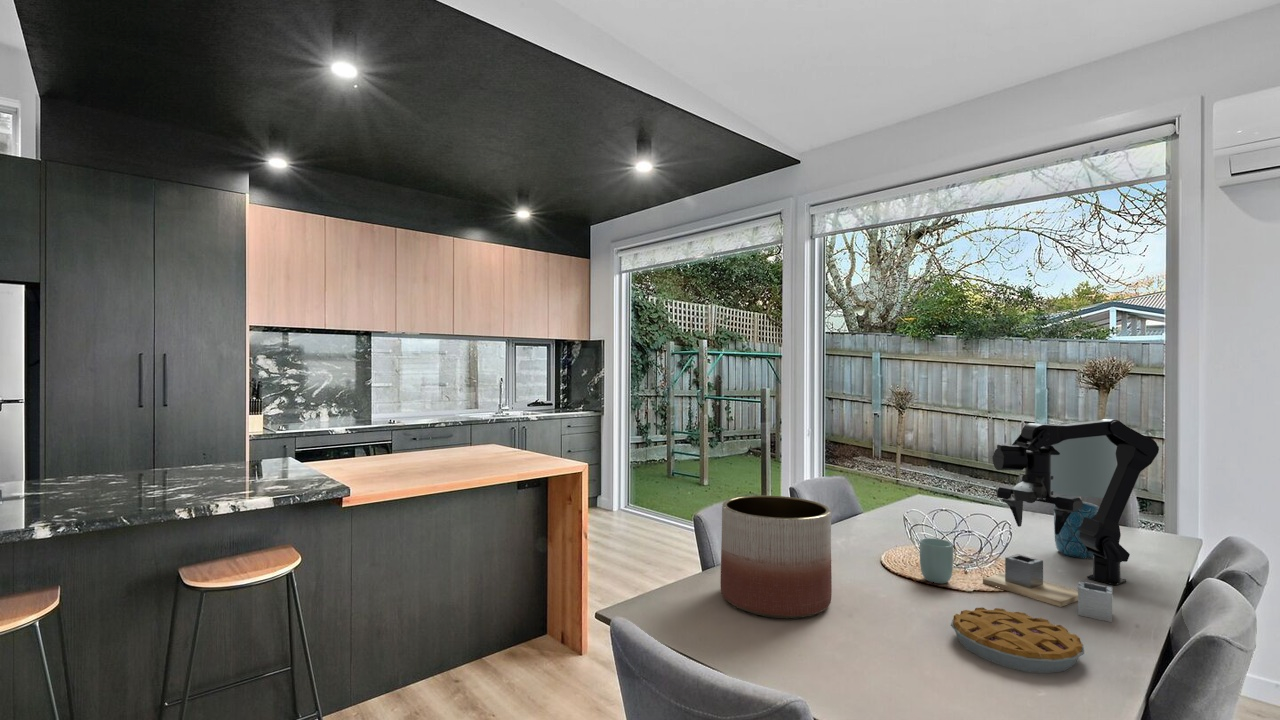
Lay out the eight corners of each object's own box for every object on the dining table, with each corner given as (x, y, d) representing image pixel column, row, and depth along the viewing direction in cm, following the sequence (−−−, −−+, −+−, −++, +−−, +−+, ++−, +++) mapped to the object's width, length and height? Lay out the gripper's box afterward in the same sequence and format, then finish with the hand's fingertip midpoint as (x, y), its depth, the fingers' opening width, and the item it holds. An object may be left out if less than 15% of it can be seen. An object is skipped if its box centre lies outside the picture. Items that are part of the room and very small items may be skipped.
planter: (837, 591, 148) (838, 501, 148) (822, 631, 125) (823, 524, 125) (737, 575, 159) (737, 491, 159) (706, 609, 136) (706, 511, 136)
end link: (1017, 577, 156) (1017, 554, 156) (1043, 584, 151) (1043, 560, 151) (1005, 581, 153) (1005, 557, 153) (1030, 588, 148) (1030, 564, 148)
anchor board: (1008, 575, 161) (1008, 552, 161) (1085, 597, 146) (1085, 571, 146) (982, 583, 155) (982, 558, 155) (1061, 607, 140) (1061, 580, 140)
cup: (957, 587, 152) (957, 547, 152) (924, 584, 153) (924, 545, 153) (948, 577, 159) (948, 539, 159) (916, 574, 161) (916, 537, 161)
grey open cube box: (1079, 607, 140) (1079, 580, 140) (1112, 613, 136) (1112, 587, 136) (1078, 615, 135) (1077, 588, 135) (1112, 622, 131) (1111, 594, 131)
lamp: (1096, 548, 188) (1096, 426, 189) (1131, 567, 169) (1131, 432, 170) (1027, 543, 192) (1027, 424, 193) (1054, 561, 174) (1054, 430, 174)
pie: (1033, 688, 103) (1033, 659, 104) (927, 636, 124) (927, 612, 124) (1111, 665, 112) (1110, 638, 112) (999, 620, 132) (999, 597, 132)
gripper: (985, 468, 164) (985, 526, 164) (1062, 479, 148) (1062, 543, 148) (1007, 465, 170) (1007, 521, 169) (1083, 475, 154) (1083, 537, 153)
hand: (1037, 530), depth 160 cm, fingers open, 9 cm apart
